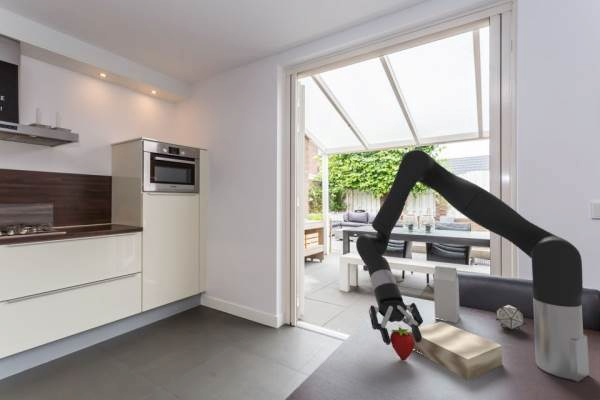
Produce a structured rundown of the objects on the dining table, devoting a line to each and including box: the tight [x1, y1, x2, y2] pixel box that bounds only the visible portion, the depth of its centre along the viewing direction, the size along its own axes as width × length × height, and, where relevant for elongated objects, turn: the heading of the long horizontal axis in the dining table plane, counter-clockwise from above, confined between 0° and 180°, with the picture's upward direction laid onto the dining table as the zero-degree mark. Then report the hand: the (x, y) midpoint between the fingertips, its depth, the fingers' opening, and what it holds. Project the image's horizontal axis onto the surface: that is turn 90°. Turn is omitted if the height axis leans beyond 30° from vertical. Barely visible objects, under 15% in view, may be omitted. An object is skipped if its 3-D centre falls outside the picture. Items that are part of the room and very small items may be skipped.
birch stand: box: [408, 321, 503, 381], centre depth 80 cm, size 18×14×5 cm
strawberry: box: [389, 326, 415, 362], centre depth 78 cm, size 6×8×10 cm
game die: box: [494, 301, 528, 333], centre depth 96 cm, size 9×8×10 cm
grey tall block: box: [433, 265, 461, 324], centre depth 106 cm, size 7×7×19 cm
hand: (404, 342), depth 77 cm, fingers open, 8 cm apart
